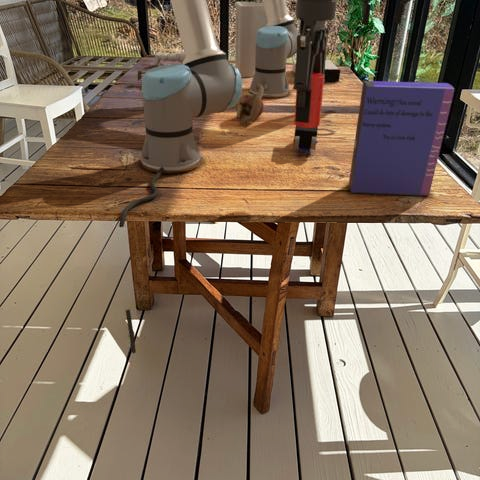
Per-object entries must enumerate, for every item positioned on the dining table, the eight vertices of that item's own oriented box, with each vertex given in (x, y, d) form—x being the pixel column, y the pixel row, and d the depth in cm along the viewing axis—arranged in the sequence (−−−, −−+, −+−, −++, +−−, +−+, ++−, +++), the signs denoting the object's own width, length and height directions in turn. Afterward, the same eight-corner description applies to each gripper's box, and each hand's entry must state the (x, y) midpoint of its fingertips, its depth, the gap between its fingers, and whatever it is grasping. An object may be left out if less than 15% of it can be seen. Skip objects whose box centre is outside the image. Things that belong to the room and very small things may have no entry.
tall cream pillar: (273, 76, 210) (276, 6, 196) (239, 77, 209) (240, 6, 194) (266, 67, 226) (268, 2, 212) (235, 67, 225) (235, 1, 210)
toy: (173, 74, 211) (173, 58, 207) (150, 64, 229) (148, 49, 225) (220, 68, 223) (220, 53, 219) (194, 59, 240) (194, 44, 237)
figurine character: (316, 163, 128) (316, 138, 139) (319, 137, 123) (319, 114, 135) (291, 161, 128) (293, 137, 140) (293, 135, 124) (295, 112, 135)
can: (324, 123, 103) (329, 74, 98) (309, 129, 99) (314, 79, 94) (304, 118, 106) (307, 70, 101) (289, 124, 103) (292, 74, 97)
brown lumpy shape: (251, 126, 162) (245, 130, 148) (232, 108, 161) (224, 111, 147) (276, 97, 158) (272, 99, 144) (257, 79, 157) (251, 79, 143)
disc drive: (297, 81, 203) (298, 69, 200) (291, 70, 222) (292, 58, 220) (338, 81, 203) (340, 69, 201) (329, 70, 223) (330, 59, 220)
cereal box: (423, 187, 112) (447, 82, 100) (428, 195, 108) (454, 87, 96) (348, 184, 113) (363, 79, 101) (351, 192, 109) (367, 85, 96)
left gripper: (321, 0, 82) (310, 132, 93) (348, -6, 96) (335, 109, 108) (280, -2, 84) (274, 127, 96) (312, -8, 99) (303, 105, 111)
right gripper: (366, -46, 153) (357, 26, 164) (429, -45, 161) (416, 24, 172) (353, -46, 159) (345, 23, 170) (415, -45, 167) (403, 21, 178)
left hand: (306, 117), depth 102 cm, fingers closed on can, 5 cm apart
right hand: (381, 24), depth 171 cm, fingers open, 13 cm apart
